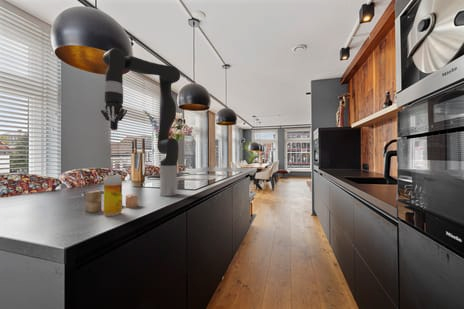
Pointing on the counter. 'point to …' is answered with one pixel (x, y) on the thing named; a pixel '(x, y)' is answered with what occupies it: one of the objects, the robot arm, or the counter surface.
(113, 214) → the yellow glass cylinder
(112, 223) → the counter surface
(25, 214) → the counter surface
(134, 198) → the pinkish brown block
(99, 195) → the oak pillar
